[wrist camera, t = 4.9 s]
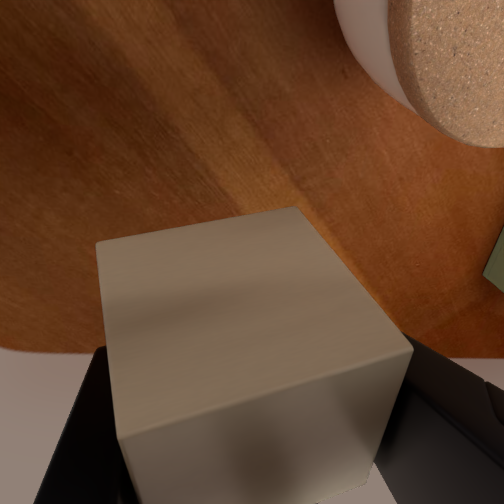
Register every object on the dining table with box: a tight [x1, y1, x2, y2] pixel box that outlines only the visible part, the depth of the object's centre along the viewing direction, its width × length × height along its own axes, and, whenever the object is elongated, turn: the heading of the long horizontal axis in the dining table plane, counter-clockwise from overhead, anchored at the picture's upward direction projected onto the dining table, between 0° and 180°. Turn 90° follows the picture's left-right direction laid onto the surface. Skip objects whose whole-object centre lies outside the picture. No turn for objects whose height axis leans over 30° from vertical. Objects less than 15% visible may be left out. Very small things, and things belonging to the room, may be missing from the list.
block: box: [95, 206, 414, 504], centre depth 8 cm, size 4×4×4 cm
